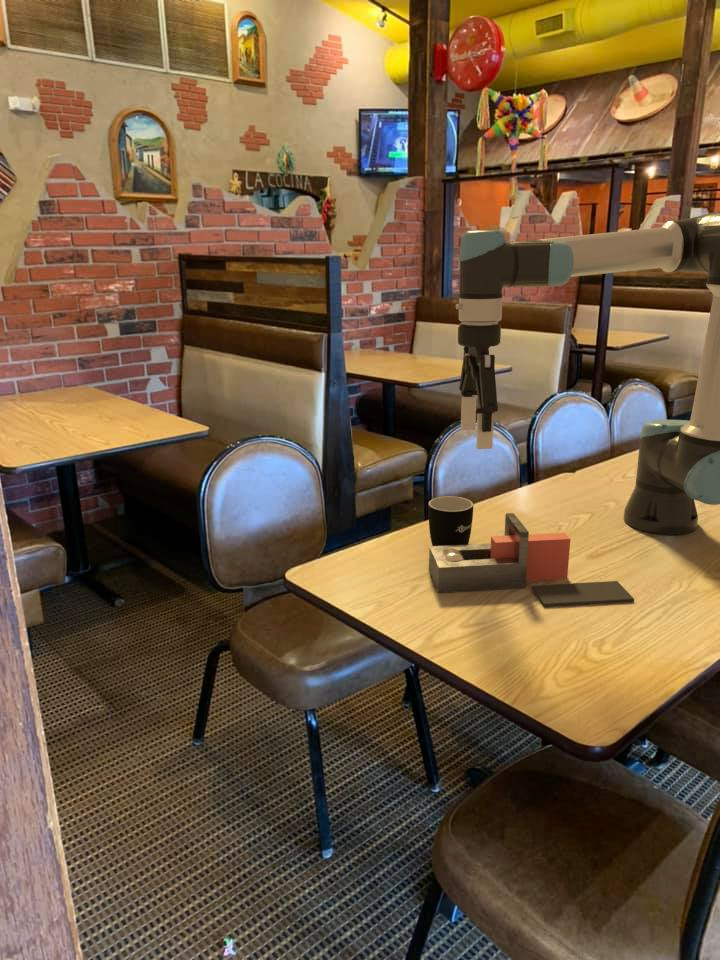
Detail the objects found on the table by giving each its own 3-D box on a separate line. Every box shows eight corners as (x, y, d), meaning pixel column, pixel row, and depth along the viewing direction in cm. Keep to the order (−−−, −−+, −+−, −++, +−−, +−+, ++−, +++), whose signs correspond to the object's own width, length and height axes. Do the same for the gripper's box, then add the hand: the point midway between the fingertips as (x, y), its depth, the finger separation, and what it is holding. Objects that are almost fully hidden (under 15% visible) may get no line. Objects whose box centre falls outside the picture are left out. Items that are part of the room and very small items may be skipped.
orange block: (561, 571, 137) (564, 532, 135) (567, 578, 134) (570, 538, 132) (489, 575, 136) (491, 536, 134) (493, 582, 133) (495, 542, 131)
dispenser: (510, 566, 140) (513, 513, 136) (525, 588, 131) (528, 532, 127) (428, 570, 138) (429, 516, 135) (438, 592, 129) (439, 536, 126)
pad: (616, 583, 132) (617, 580, 132) (633, 601, 125) (634, 598, 125) (531, 588, 130) (531, 585, 130) (543, 606, 124) (544, 603, 124)
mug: (456, 562, 142) (457, 514, 138) (419, 551, 147) (419, 504, 144) (487, 543, 150) (489, 498, 147) (451, 533, 156) (452, 489, 153)
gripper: (445, 316, 139) (443, 423, 146) (474, 331, 116) (470, 458, 122) (484, 315, 140) (480, 422, 146) (520, 329, 116) (513, 456, 123)
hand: (475, 438), depth 134 cm, fingers open, 13 cm apart
